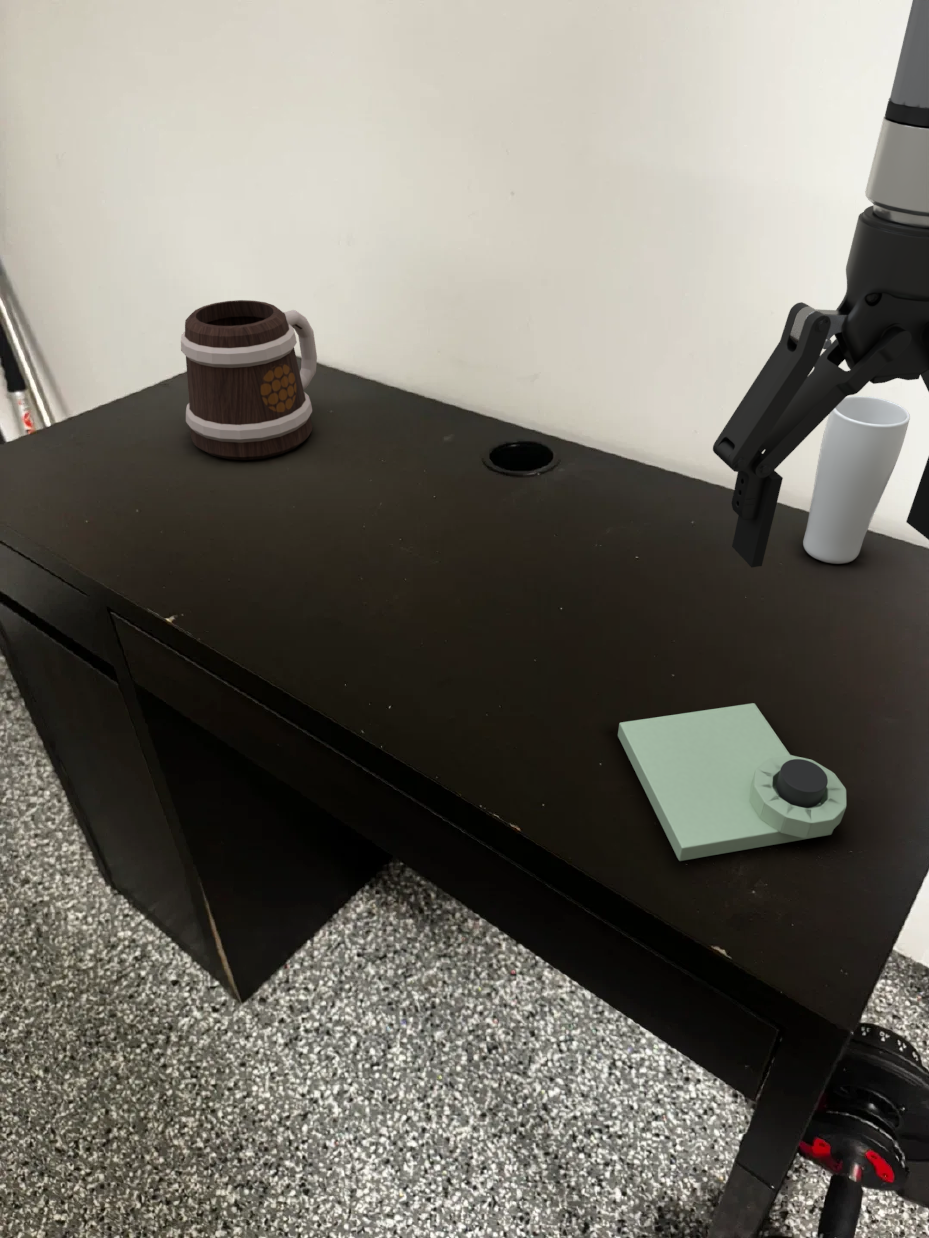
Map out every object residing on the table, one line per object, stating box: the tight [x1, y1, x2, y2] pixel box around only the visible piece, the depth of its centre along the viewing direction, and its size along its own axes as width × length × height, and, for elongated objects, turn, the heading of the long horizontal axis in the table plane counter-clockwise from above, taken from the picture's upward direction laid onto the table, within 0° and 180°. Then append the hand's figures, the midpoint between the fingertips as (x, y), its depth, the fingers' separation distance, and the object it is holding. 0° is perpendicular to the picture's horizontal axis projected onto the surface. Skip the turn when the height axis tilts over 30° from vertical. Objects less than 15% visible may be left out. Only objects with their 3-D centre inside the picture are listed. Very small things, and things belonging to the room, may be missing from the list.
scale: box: [617, 702, 847, 862], centre depth 63 cm, size 13×12×3 cm
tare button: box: [776, 759, 828, 808], centre depth 59 cm, size 3×3×2 cm
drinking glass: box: [802, 395, 911, 565], centre depth 84 cm, size 7×7×15 cm
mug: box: [180, 299, 318, 461], centre depth 107 cm, size 20×15×15 cm
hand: (836, 543), depth 61 cm, fingers open, 13 cm apart
